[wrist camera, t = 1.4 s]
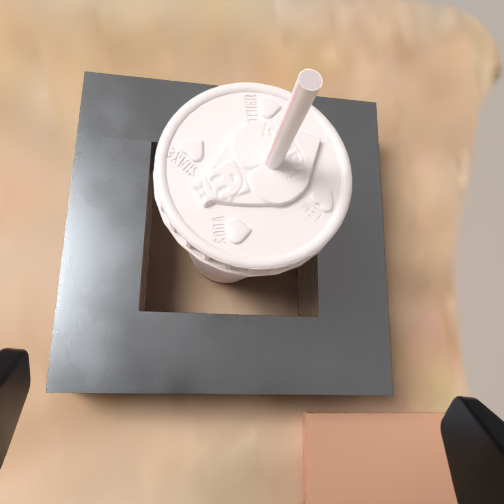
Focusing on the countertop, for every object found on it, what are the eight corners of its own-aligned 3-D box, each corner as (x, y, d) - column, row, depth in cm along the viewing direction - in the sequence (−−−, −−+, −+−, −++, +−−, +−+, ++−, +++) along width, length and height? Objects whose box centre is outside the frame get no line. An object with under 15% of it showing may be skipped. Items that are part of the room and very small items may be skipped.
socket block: (361, 391, 23) (393, 395, 19) (67, 388, 21) (45, 392, 17) (350, 136, 26) (376, 102, 23) (97, 112, 24) (84, 71, 21)
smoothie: (308, 274, 24) (476, 154, 10) (198, 333, 22) (230, 282, 9) (249, 170, 25) (334, -63, 11) (139, 220, 23) (87, 17, 10)
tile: (471, 593, 21) (478, 599, 21) (305, 604, 20) (308, 610, 20) (455, 412, 23) (461, 413, 23) (303, 412, 22) (305, 413, 22)
